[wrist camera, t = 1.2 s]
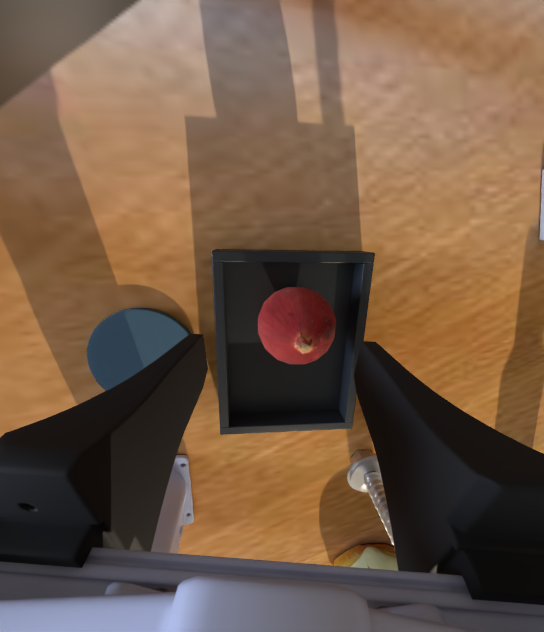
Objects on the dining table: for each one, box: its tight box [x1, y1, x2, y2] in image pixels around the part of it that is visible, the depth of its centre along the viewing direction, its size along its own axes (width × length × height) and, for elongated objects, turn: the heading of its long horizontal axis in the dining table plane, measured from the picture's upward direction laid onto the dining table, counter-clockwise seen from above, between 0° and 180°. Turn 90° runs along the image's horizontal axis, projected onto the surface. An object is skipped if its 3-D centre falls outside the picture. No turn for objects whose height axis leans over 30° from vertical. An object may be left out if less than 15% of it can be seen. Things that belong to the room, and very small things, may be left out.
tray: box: [212, 249, 375, 435], centre depth 23 cm, size 17×13×2 cm
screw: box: [346, 450, 395, 548], centre depth 23 cm, size 13×5×5 cm
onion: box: [258, 287, 336, 364], centre depth 19 cm, size 6×6×8 cm
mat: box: [87, 308, 190, 391], centre depth 24 cm, size 10×10×1 cm
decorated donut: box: [334, 544, 398, 571], centre depth 33 cm, size 10×11×4 cm
